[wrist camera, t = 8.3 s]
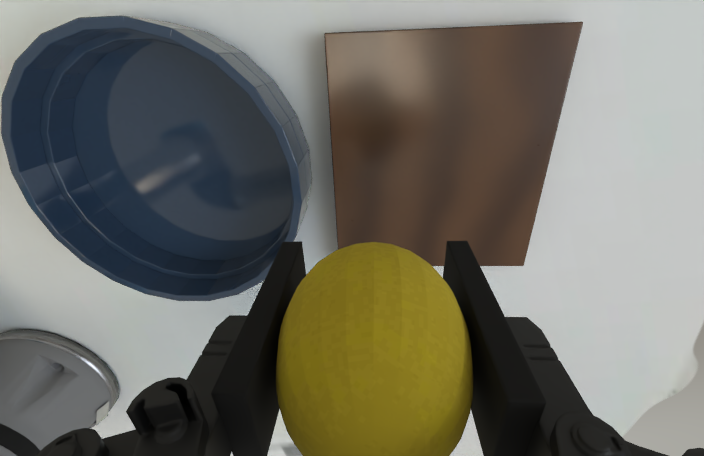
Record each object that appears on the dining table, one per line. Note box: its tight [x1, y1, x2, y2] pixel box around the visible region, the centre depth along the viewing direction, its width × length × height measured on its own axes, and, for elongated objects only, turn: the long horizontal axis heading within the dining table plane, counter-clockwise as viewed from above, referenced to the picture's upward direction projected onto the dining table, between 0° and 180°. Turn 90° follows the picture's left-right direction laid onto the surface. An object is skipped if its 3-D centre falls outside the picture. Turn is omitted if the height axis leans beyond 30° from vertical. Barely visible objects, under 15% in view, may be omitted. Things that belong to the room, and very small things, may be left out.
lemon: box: [276, 242, 473, 456], centre depth 10 cm, size 6×6×8 cm
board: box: [324, 22, 583, 266], centre depth 26 cm, size 16×18×2 cm
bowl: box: [1, 16, 312, 301], centre depth 25 cm, size 20×20×5 cm
